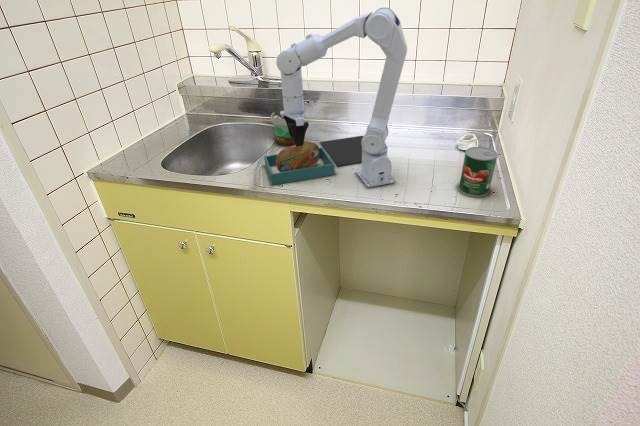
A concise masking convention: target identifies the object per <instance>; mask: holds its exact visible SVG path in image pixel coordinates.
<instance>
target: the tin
mask: <svg viewBox="0 0 640 426" xmlns="http://www.w3.org/2000/svg"><path fill="white" fill-rule="evenodd" d="M319 148H320V147H319V145H318V144H317V143H315V142H311V141H305V140H304V144H303V146H298V147H296V145H293V146H286V147H285V148H283V149H280V151H279V152H278V153H277V154H278V155H277V157H276V165H275V166H276V169H277V171H278V172H285V171H291V170H297V169H303V168H309V167H316V166H317V164H318V162H319V161H320V159H321V158H320V149H319Z"/></svg>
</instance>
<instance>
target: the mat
mask: <svg viewBox="0 0 640 426" xmlns="http://www.w3.org/2000/svg"><path fill="white" fill-rule="evenodd" d="M363 137H364V135H358V136H351V137H345V138H344V137H343V138H338V139H331V140H325V141H320V144H321V147H323V149H324V150H325V152H326V153H327V155H328V156H329V157H330V159H331V160H332V162H333V163H334V165H335V166H336V167H337V168H340V167H344V166H345V167H346V166H351V165H356V164H357V165H358V164H362V145H361V141H362V138H363Z"/></svg>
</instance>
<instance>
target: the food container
mask: <svg viewBox="0 0 640 426" xmlns="http://www.w3.org/2000/svg"><path fill="white" fill-rule="evenodd" d="M270 123H271V124H272V125H273V131H274V135H275V139H276V143H277V144H278V145H279V146H282V147H290V146H293V145H295V142H294V138H293V137H291V136H290V134H289V130H288V127H287V123H286V121H285V119H284V117H283V116H282V115H281V114H276V113H275V111H274V112H273V111H272V113H271V114H270Z"/></svg>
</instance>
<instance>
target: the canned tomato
mask: <svg viewBox="0 0 640 426" xmlns="http://www.w3.org/2000/svg"><path fill="white" fill-rule="evenodd" d="M498 156H499V154H498V152H497V151H496V150H494V149H492V148H489V147H485V146H479V147H471V148H468V149H467V150H465V153H464V159H463V163H462V168H461V174H460V179H459V183H458V184H459V185H458V190H459V192H461V193H462V194H463V195H466V196H469V197H473V198H477V197H478V198H480V197H485V196H487V195H489V193H490V188H491V185H492V181H493V177H494V172H495V169H496V164H497V159H498Z"/></svg>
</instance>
